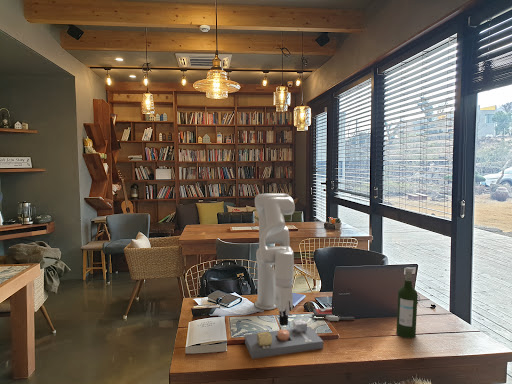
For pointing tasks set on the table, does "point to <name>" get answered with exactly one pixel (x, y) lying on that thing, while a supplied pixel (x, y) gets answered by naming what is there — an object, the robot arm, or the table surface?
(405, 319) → the wine bottle
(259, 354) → the grey slotted board
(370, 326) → the table surface
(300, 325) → the grey slider
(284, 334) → the terracotta button
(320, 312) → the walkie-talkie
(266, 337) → the brass slider
